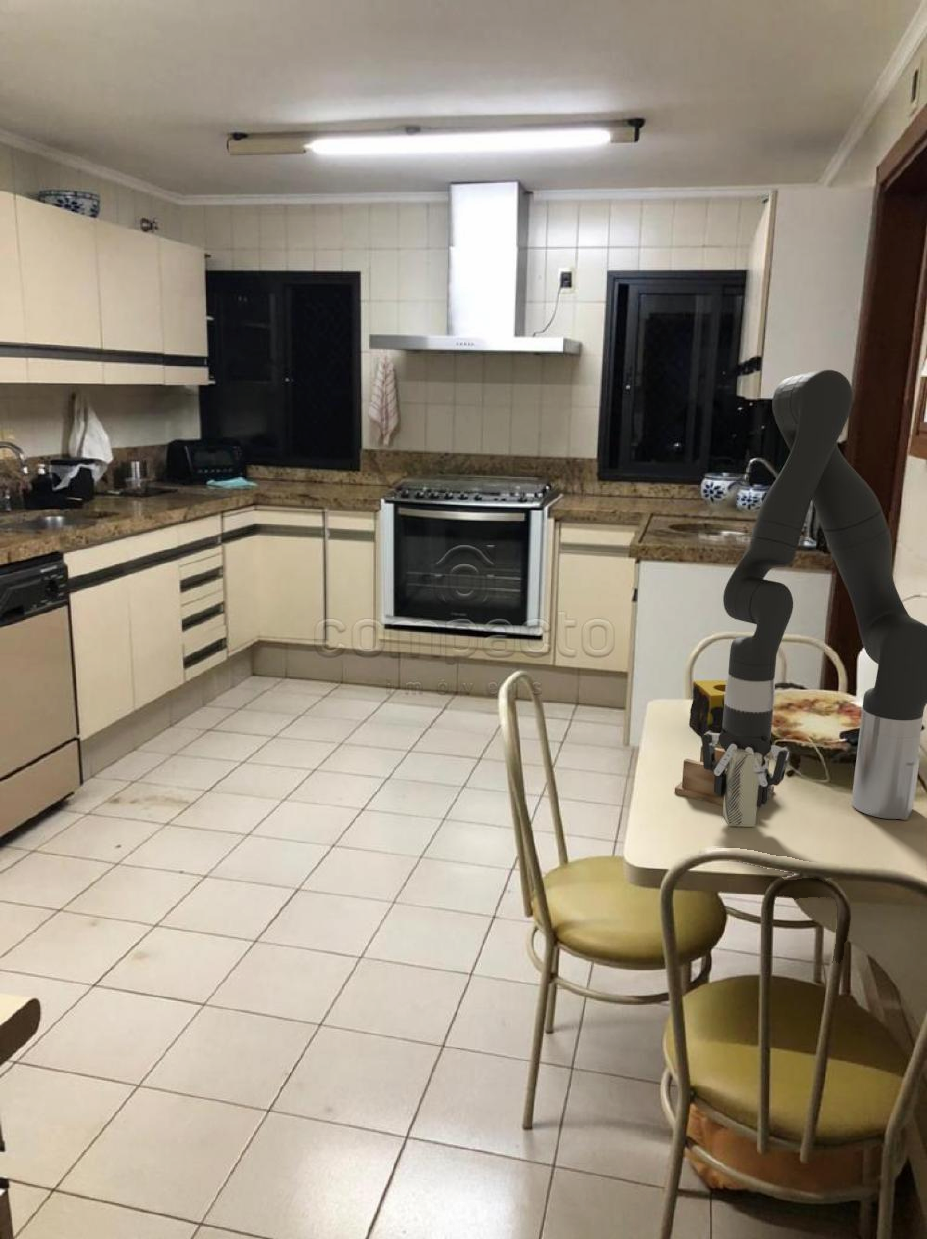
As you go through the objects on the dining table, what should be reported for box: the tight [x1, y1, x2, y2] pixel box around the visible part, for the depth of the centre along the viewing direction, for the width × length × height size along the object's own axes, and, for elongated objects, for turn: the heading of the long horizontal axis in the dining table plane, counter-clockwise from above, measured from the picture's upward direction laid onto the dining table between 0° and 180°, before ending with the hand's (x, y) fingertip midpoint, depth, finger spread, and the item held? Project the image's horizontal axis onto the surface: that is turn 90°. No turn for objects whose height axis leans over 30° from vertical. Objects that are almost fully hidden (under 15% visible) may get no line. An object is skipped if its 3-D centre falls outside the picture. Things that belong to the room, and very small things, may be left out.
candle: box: [688, 679, 727, 738], centre depth 197 cm, size 10×10×10 cm
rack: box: [673, 745, 775, 810], centre depth 168 cm, size 14×11×6 cm
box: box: [722, 749, 762, 828], centre depth 156 cm, size 5×4×13 cm
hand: (740, 800), depth 156 cm, fingers closed on box, 6 cm apart
